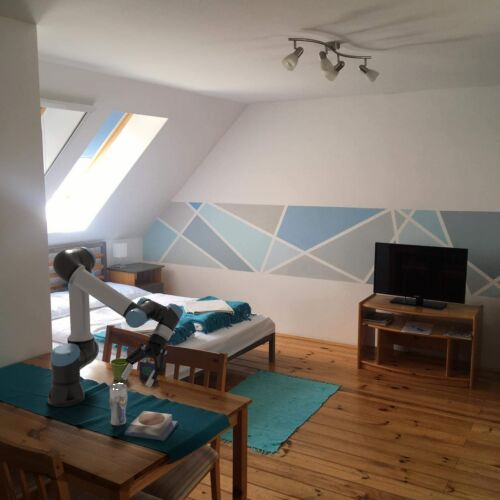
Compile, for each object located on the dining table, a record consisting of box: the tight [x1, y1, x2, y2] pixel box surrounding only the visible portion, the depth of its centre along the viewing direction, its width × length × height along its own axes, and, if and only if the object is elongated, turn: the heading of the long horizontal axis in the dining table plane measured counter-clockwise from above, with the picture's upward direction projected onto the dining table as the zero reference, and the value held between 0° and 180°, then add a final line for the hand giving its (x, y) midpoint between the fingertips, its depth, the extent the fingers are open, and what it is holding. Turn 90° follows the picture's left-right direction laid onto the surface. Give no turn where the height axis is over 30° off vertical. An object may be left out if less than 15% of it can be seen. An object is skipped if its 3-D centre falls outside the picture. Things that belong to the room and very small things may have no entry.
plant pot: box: [109, 357, 127, 382], centre depth 260 cm, size 9×9×9 cm
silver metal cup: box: [108, 382, 128, 427], centre depth 215 cm, size 7×7×15 cm
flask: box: [139, 357, 159, 382], centre depth 260 cm, size 9×3×11 cm, turn 74°
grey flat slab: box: [124, 420, 179, 442], centre depth 211 cm, size 16×14×1 cm
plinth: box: [130, 410, 173, 436], centre depth 210 cm, size 12×12×3 cm
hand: (135, 382), depth 220 cm, fingers open, 13 cm apart
